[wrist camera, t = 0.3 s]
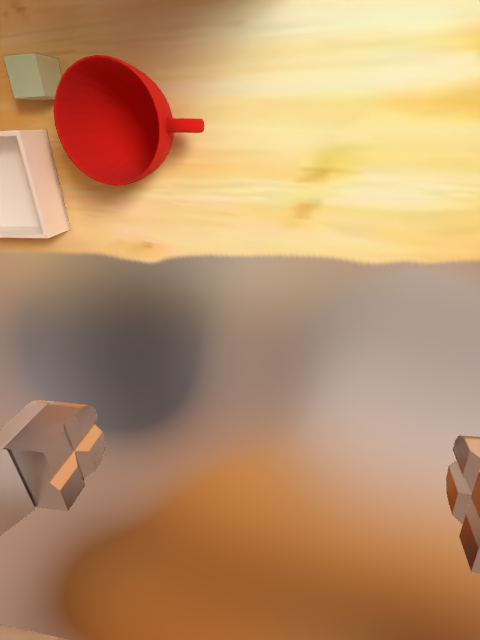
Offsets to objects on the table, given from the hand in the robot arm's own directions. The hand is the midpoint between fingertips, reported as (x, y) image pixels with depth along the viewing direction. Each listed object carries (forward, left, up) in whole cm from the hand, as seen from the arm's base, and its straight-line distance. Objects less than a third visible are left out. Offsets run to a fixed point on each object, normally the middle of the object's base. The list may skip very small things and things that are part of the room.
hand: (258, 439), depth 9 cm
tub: (0, -45, -47) cm, 65 cm away
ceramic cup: (-7, -21, -47) cm, 52 cm away
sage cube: (-13, -36, -47) cm, 61 cm away
